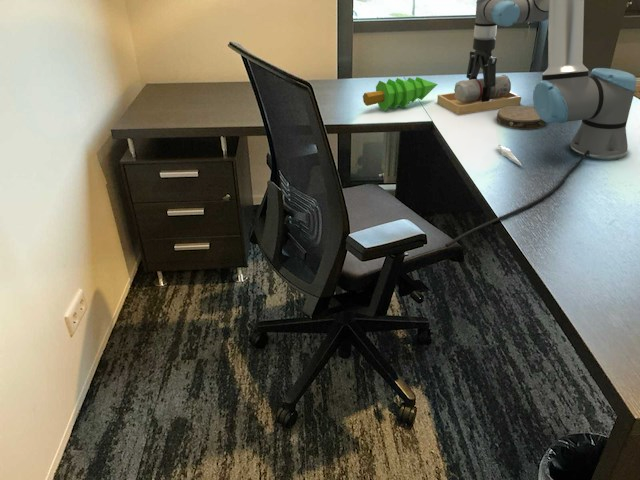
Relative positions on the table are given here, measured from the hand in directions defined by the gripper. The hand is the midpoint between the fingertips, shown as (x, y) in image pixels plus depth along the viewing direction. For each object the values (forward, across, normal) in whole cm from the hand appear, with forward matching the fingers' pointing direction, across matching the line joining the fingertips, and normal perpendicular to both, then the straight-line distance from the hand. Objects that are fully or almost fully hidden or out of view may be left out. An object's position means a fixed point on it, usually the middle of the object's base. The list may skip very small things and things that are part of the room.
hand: (478, 101), depth 206 cm
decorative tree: (+1, +10, +26) cm, 28 cm away
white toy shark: (+1, -48, +20) cm, 52 cm away
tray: (+1, 0, 0) cm, 1 cm away
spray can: (-4, 0, -11) cm, 12 cm away
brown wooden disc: (+1, -23, -2) cm, 23 cm away
